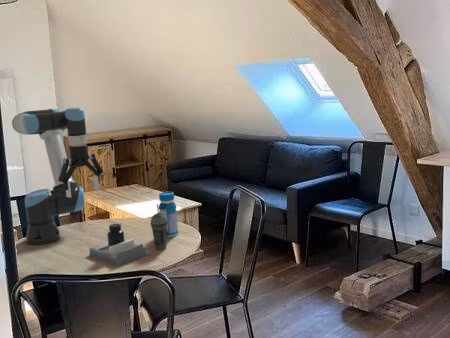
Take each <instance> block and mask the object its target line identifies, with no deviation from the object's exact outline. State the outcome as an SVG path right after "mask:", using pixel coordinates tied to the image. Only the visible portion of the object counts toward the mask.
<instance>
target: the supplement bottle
mask: <svg viewBox="0 0 450 338" xmlns="http://www.w3.org/2000/svg"><path fill="white" fill-rule="evenodd" d="M108 229H109V230H108V232H107V234H106V235H107V245H108V248H109V247H110V246H113V245H116V244H119V243H122V242H125V241H126V240H125V231H124V230H122V225H121V224H120V223H112V224H110V225H109V226H108Z"/></svg>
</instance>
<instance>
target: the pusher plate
mask: <svg viewBox="0 0 450 338" xmlns="http://www.w3.org/2000/svg"><path fill="white" fill-rule="evenodd" d="M134 244H135V241H134V239H133V238H131V239H128V240H125V242H122V243H119V244H116V245H113V246H110V247H109V253H110V255H113V256H115V257H117V252H120V251H122V250H125V249H128V248H131V247H134Z"/></svg>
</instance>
